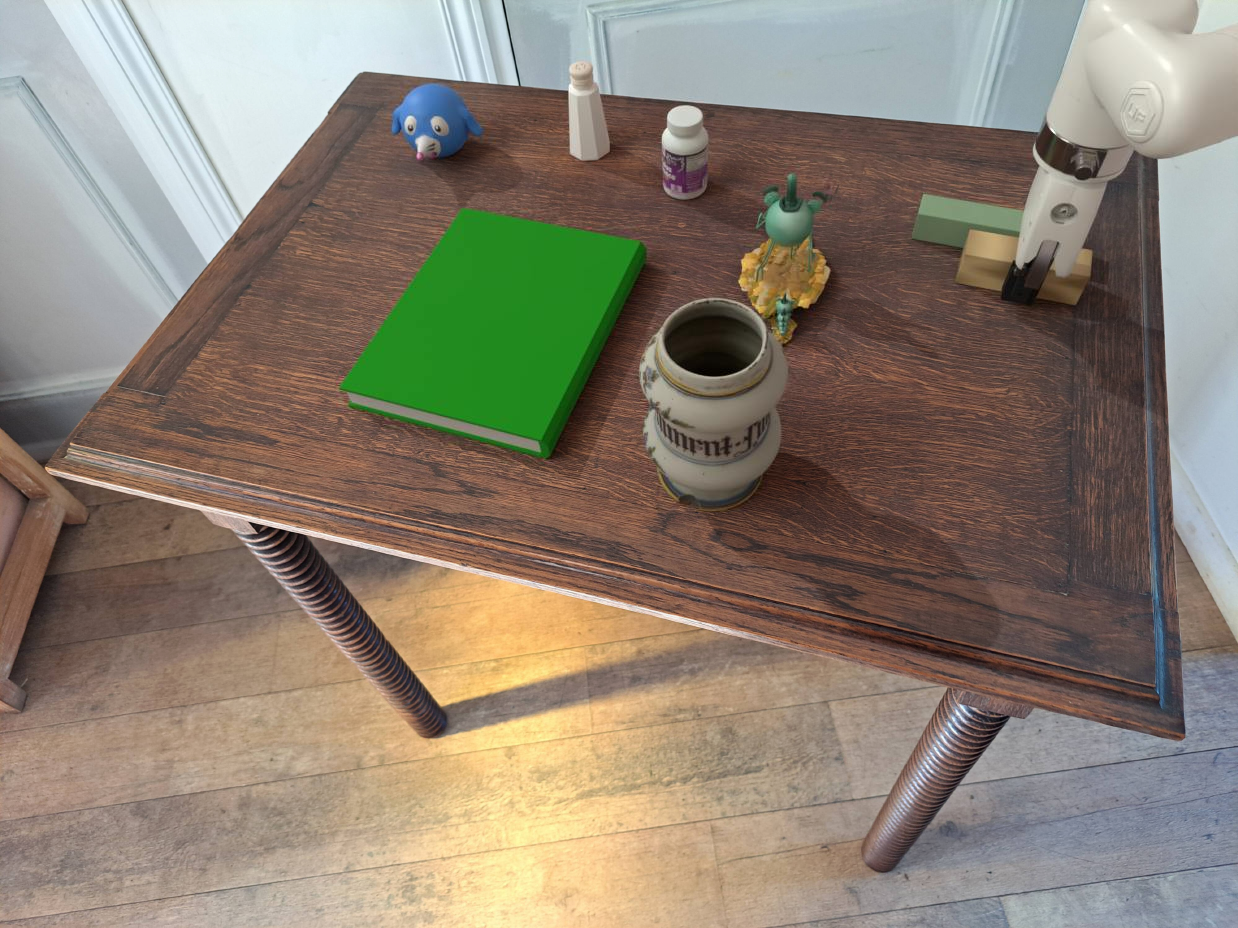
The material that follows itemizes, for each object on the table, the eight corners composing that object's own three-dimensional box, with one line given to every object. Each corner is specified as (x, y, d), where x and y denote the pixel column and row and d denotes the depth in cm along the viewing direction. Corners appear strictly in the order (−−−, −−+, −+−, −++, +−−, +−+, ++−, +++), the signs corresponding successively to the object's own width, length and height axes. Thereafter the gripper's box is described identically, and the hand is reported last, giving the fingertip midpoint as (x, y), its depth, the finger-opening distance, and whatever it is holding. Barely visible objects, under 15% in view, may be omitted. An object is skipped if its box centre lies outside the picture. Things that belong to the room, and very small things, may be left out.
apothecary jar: (627, 502, 78) (613, 374, 63) (669, 403, 84) (664, 266, 69) (756, 538, 75) (772, 412, 60) (789, 433, 81) (812, 295, 66)
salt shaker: (577, 167, 106) (567, 85, 97) (562, 143, 109) (550, 61, 100) (617, 154, 107) (611, 71, 98) (601, 131, 110) (593, 49, 101)
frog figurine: (711, 334, 89) (717, 210, 78) (758, 238, 100) (770, 117, 89) (801, 355, 86) (822, 229, 75) (840, 254, 97) (863, 131, 86)
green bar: (1066, 245, 93) (1078, 220, 90) (1064, 267, 91) (1076, 241, 88) (916, 218, 97) (923, 193, 94) (911, 239, 95) (917, 213, 92)
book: (348, 406, 87) (338, 387, 84) (468, 228, 101) (462, 207, 99) (551, 460, 81) (546, 441, 79) (646, 263, 96) (645, 242, 93)
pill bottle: (653, 185, 103) (650, 114, 95) (688, 167, 105) (688, 95, 97) (681, 208, 101) (680, 136, 93) (716, 189, 102) (718, 116, 94)
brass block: (1078, 279, 90) (1092, 250, 87) (1075, 305, 88) (1090, 276, 85) (960, 258, 93) (970, 229, 90) (954, 283, 91) (964, 254, 87)
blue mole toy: (382, 187, 107) (360, 127, 100) (408, 129, 114) (389, 70, 107) (474, 190, 105) (459, 129, 98) (495, 131, 112) (482, 71, 105)
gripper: (1130, 205, 67) (1048, 359, 82) (1137, 97, 75) (1061, 256, 90) (1029, 188, 69) (968, 342, 84) (1046, 85, 77) (987, 243, 92)
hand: (1016, 297), depth 87 cm, fingers closed
